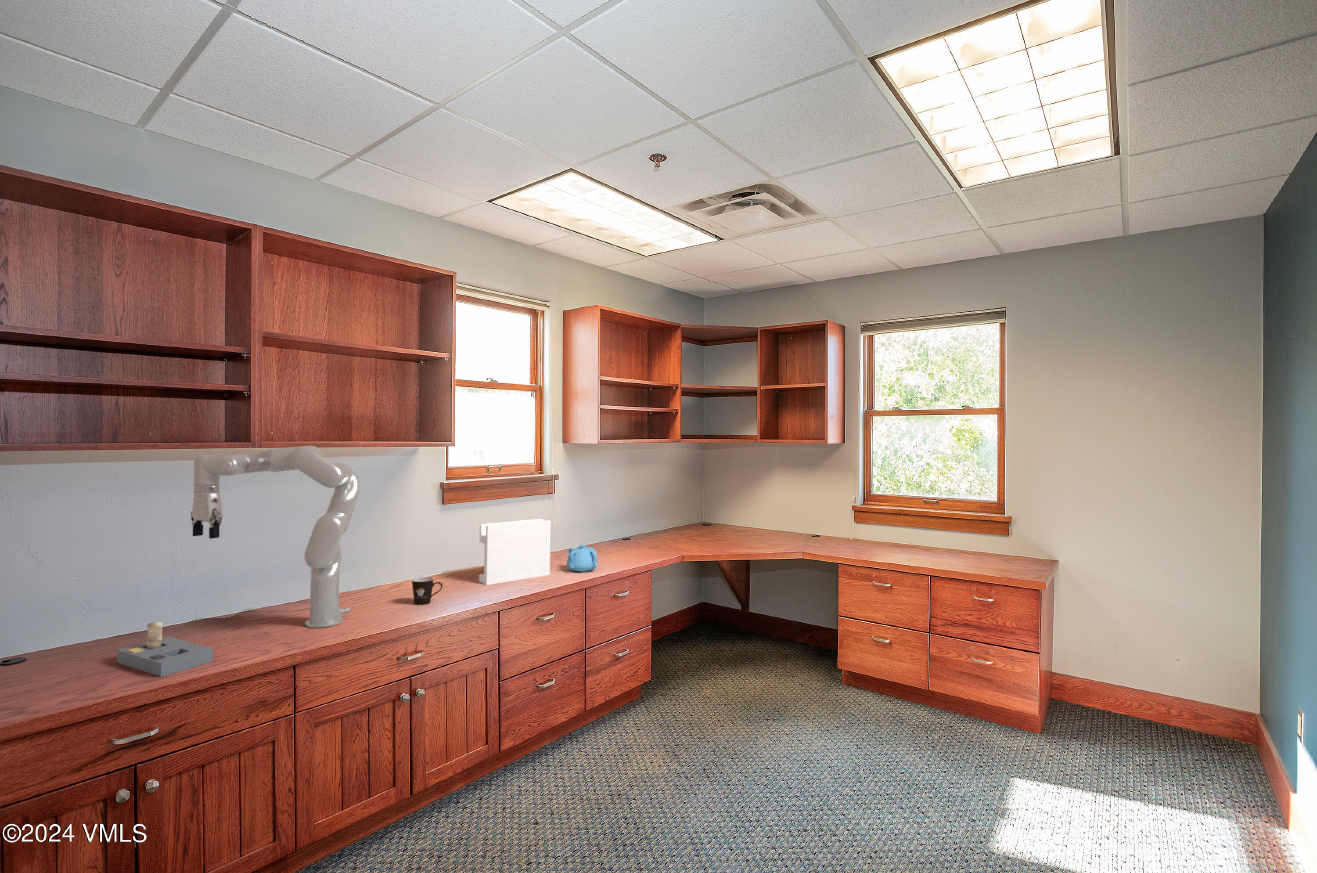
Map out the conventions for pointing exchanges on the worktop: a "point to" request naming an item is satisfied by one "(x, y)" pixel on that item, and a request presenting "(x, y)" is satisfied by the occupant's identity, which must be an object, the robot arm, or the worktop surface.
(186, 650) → the socket block
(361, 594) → the worktop surface
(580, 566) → the decorative pot
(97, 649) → the worktop surface
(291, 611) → the worktop surface
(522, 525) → the block
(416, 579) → the coffee mug
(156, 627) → the plug
